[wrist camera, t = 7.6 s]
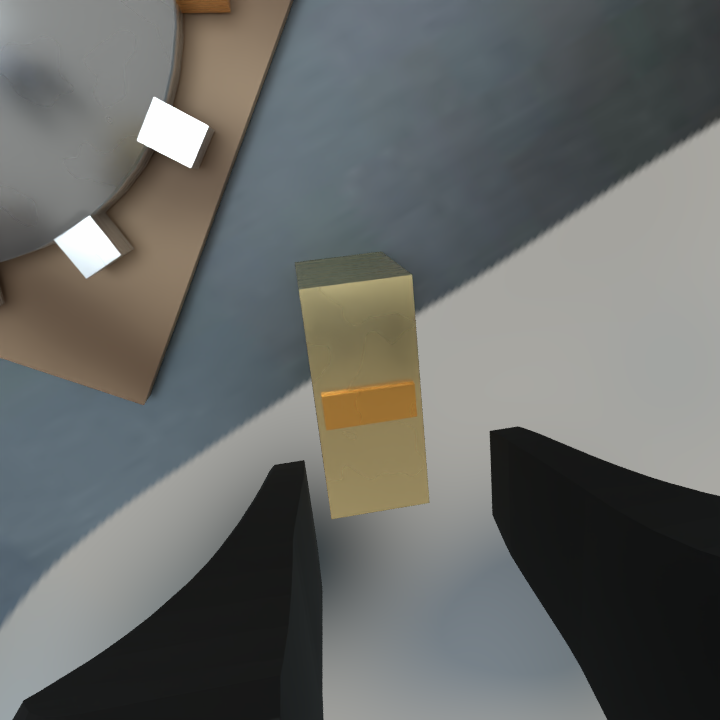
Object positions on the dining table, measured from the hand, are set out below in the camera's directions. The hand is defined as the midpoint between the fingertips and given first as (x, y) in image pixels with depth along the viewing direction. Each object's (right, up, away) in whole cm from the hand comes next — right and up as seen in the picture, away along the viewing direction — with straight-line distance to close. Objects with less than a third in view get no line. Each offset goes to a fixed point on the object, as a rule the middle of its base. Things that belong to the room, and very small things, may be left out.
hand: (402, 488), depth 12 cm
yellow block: (-1, +3, +9) cm, 10 cm away
